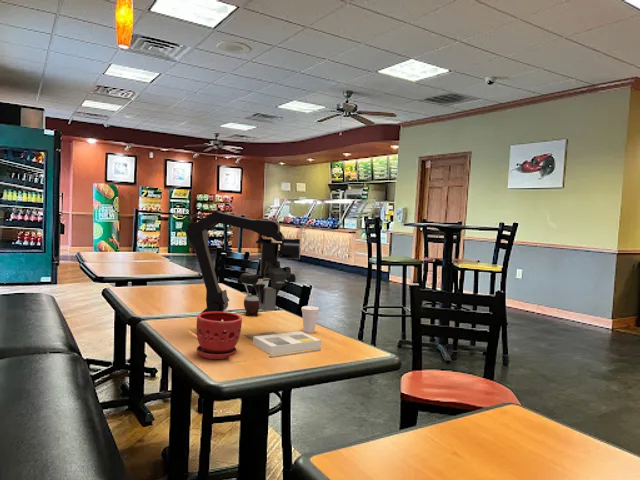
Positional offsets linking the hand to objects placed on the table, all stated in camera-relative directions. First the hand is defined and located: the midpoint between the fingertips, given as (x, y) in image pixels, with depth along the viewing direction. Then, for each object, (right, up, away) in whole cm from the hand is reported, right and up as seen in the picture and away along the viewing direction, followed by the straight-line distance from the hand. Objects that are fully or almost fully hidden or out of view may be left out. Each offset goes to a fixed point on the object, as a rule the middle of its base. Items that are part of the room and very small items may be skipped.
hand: (267, 303), depth 160 cm
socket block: (+7, -13, -9) cm, 18 cm away
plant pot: (-12, -13, -19) cm, 27 cm away
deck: (-1, -12, +1) cm, 12 cm away
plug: (0, -2, 0) cm, 2 cm away
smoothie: (+14, -13, +11) cm, 22 cm away
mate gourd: (-11, -10, +36) cm, 39 cm away
